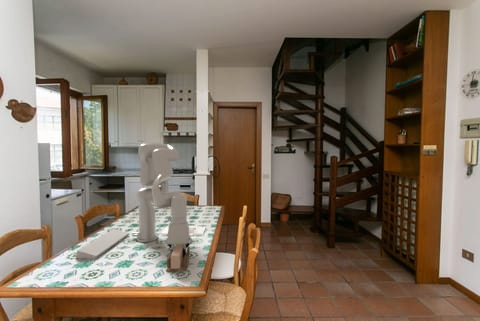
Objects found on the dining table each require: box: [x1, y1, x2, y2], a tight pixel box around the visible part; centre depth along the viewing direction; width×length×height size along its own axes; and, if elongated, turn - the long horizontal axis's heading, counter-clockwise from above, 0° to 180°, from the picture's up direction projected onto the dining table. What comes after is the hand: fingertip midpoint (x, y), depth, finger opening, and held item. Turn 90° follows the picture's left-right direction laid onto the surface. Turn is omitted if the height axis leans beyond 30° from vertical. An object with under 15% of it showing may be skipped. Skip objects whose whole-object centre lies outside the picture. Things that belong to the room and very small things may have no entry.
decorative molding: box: [75, 228, 130, 260], centre depth 144 cm, size 34×5×10 cm
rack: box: [165, 246, 191, 272], centre depth 124 cm, size 9×18×5 cm, turn 6°
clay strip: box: [170, 244, 183, 269], centre depth 123 cm, size 4×22×6 cm, turn 6°
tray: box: [160, 225, 207, 237], centre depth 171 cm, size 20×28×4 cm
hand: (178, 256), depth 124 cm, fingers closed on clay strip, 4 cm apart
